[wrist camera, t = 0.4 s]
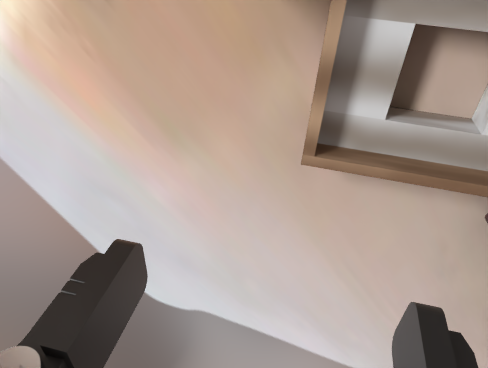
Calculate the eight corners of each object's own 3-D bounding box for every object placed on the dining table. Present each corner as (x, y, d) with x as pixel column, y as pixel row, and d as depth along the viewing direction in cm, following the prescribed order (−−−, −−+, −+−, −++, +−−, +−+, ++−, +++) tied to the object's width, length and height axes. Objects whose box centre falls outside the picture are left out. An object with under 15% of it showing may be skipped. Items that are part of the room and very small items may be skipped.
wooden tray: (341, -56, 27) (340, -52, 23) (646, -29, 25) (711, -19, 20) (306, 135, 37) (300, 164, 32) (523, 171, 34) (549, 208, 30)
